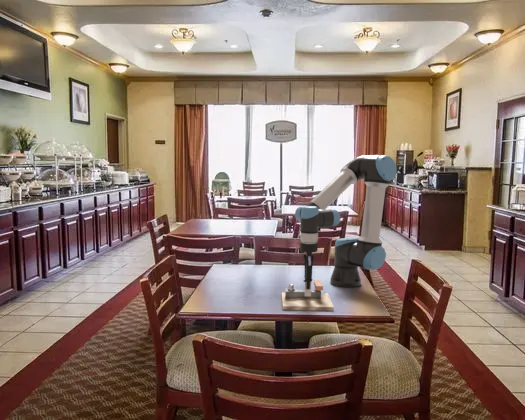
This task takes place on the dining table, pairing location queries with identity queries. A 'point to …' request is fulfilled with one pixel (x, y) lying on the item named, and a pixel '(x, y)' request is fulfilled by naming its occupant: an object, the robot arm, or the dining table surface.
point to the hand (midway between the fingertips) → (307, 295)
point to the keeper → (318, 285)
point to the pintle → (291, 288)
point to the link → (302, 294)
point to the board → (307, 303)
